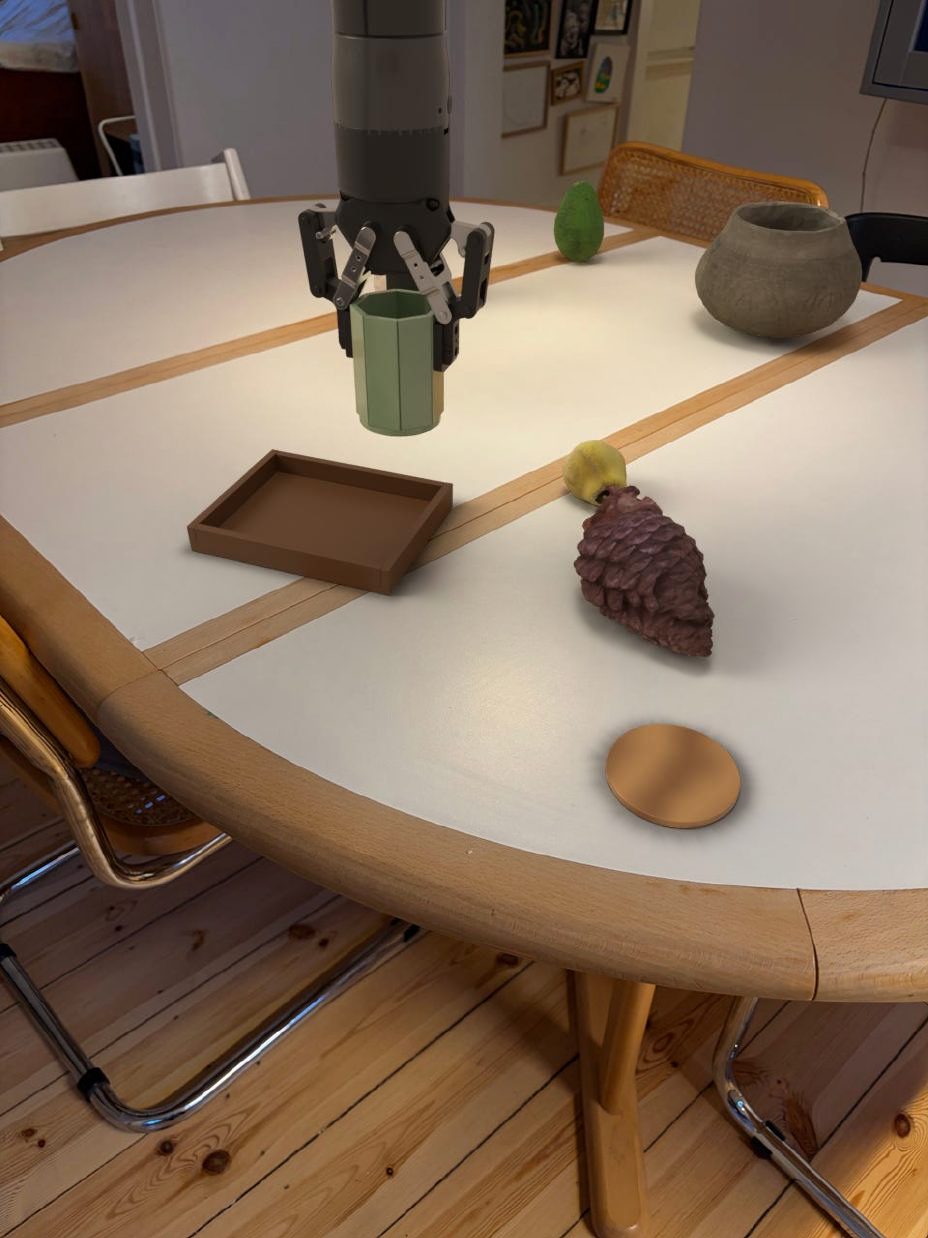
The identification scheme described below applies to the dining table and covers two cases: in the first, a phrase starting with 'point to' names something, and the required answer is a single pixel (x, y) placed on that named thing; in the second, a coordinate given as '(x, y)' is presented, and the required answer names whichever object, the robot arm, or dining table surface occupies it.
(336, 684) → the dining table surface
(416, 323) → the cup
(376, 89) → the robot arm
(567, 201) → the fruit
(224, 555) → the tray
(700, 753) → the coaster
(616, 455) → the fruit
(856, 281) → the clay pot
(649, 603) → the pine cone
